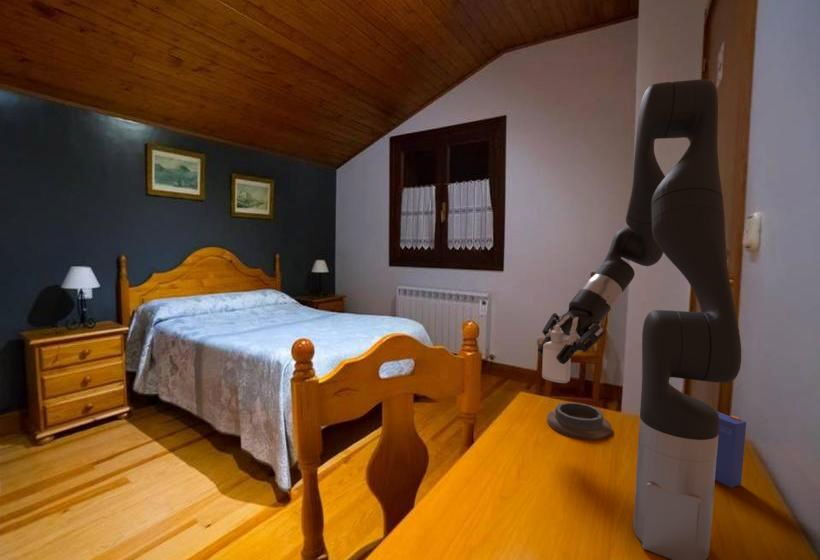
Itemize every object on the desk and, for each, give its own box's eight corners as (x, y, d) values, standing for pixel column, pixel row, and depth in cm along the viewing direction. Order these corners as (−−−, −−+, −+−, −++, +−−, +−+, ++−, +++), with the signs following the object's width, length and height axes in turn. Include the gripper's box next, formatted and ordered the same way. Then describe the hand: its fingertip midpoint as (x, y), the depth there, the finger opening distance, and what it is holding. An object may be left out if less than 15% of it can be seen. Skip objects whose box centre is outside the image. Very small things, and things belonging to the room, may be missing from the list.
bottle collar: (606, 446, 84) (606, 430, 83) (539, 428, 92) (540, 413, 91) (615, 422, 95) (616, 408, 95) (555, 408, 103) (556, 395, 103)
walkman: (741, 485, 70) (746, 420, 69) (730, 488, 70) (736, 422, 68) (696, 462, 78) (700, 403, 77) (686, 464, 77) (690, 405, 76)
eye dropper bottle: (556, 385, 83) (558, 329, 82) (539, 376, 88) (540, 323, 87) (573, 382, 84) (575, 327, 83) (555, 374, 90) (556, 322, 88)
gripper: (563, 284, 94) (519, 338, 91) (613, 292, 80) (564, 355, 77) (580, 305, 96) (537, 358, 93) (631, 316, 83) (584, 378, 80)
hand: (550, 357), depth 85 cm, fingers closed on eye dropper bottle, 5 cm apart
